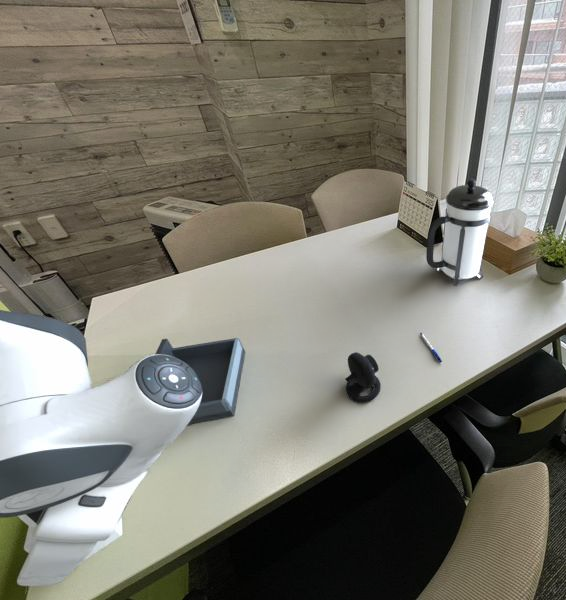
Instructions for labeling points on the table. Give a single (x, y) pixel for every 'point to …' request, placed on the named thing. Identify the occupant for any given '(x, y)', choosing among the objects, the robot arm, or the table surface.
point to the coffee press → (462, 232)
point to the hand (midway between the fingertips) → (69, 507)
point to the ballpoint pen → (431, 348)
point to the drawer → (212, 375)
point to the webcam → (362, 377)
